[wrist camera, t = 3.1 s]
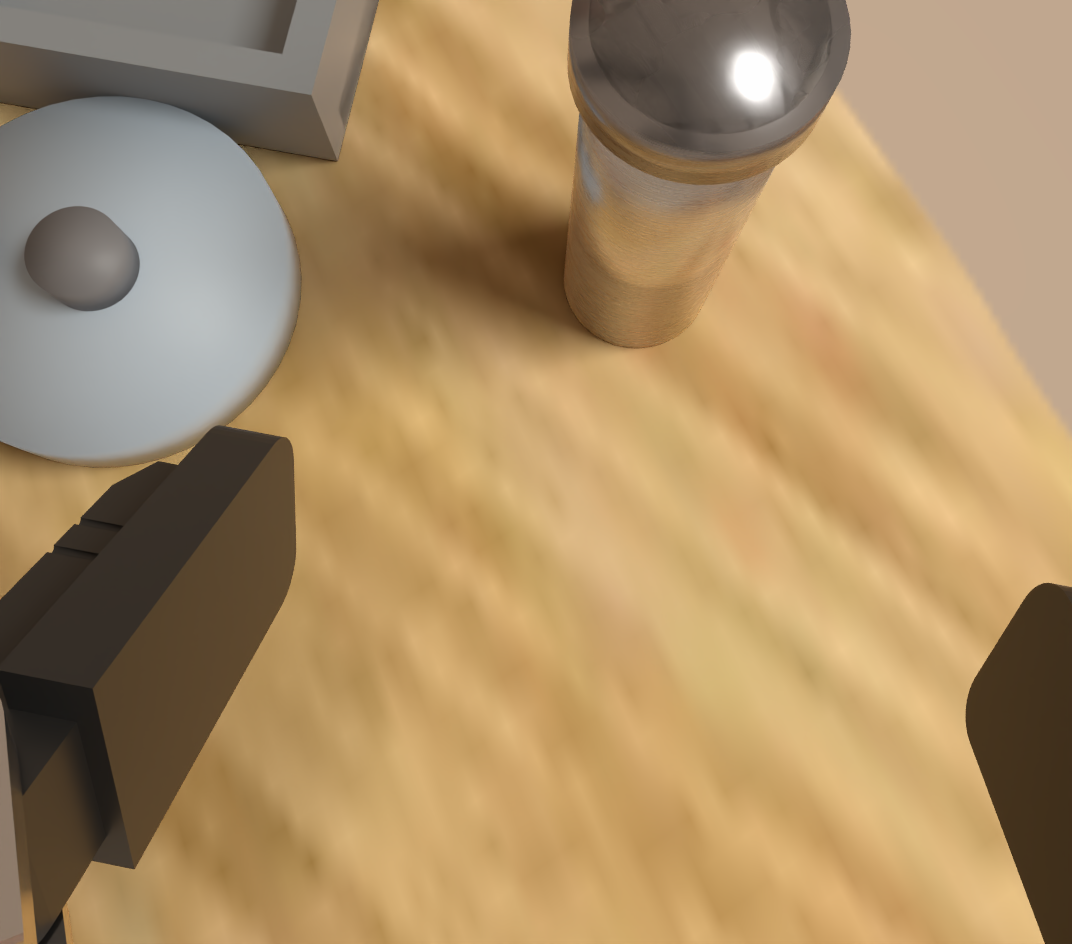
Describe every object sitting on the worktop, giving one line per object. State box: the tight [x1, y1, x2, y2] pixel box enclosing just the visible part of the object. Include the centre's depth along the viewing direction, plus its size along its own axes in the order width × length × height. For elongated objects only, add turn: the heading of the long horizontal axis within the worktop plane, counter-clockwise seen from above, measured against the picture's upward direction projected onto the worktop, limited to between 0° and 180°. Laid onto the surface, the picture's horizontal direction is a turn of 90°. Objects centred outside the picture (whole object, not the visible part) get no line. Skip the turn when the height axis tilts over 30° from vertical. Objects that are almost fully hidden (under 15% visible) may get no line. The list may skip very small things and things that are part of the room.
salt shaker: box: [564, 0, 851, 348], centre depth 19 cm, size 5×5×10 cm
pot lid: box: [0, 96, 301, 467], centre depth 21 cm, size 10×10×6 cm
